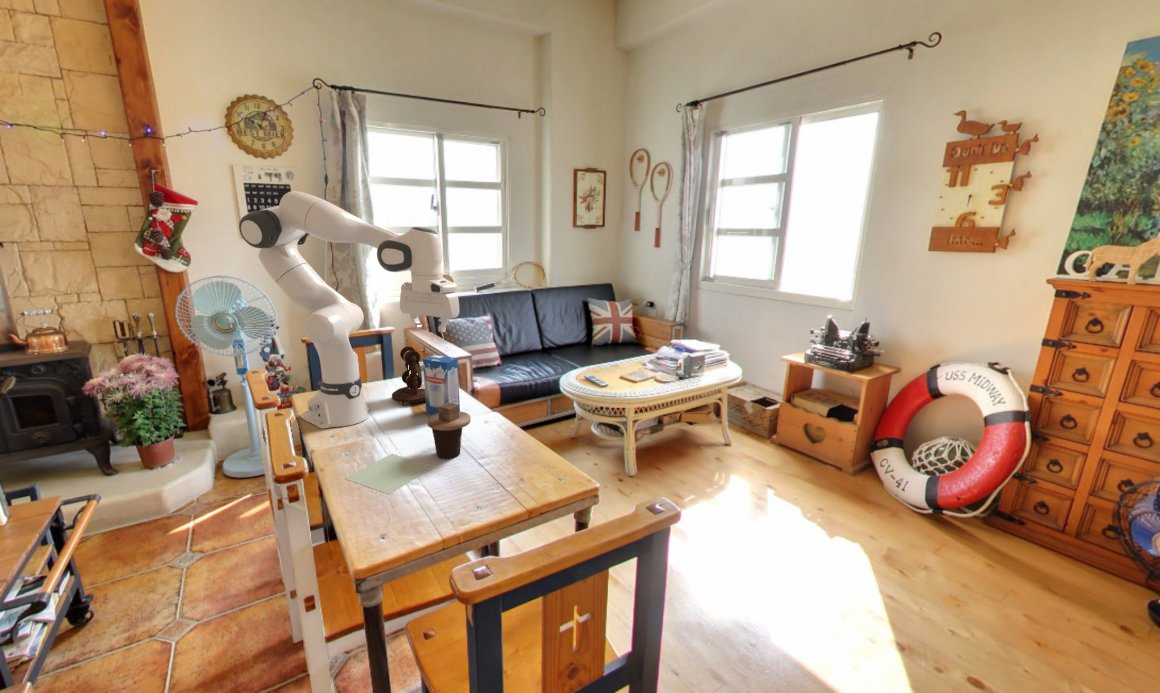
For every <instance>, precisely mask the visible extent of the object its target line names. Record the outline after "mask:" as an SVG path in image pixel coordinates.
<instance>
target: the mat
mask: <svg viewBox="0 0 1160 693" xmlns="http://www.w3.org/2000/svg"><path fill="white" fill-rule="evenodd" d="M434 467H435V465H432V464H428V463H425V462H421V461H418V460H415V459H411V458H408V457H406V456H405V457H404V456H401V455H398V454H395V453H389V454H388V455H386V456H384V457H383V458H381V459H379V460H377V461H375V462H373V463H371V464H370V465H368V466H365V467H363V468H362V469H359V470H358V471H356V472H354V473H352V474H351V475H348V476H346V477H345V478H344V480H346V481H350V482H352V483H355V484H358V485H361V486H364V487H366V488H370V489H373V490H375V491H378V492H381V493H384V494H387V495H392V494H393V493H394V492H396V491H397V490H399V489H401V488H403V487H404V486H406V485H407V484H409V483H410V482H412V481H414V480H416V479H418V478H419V477H420V476H422V475H423V474H425V473H427V472H428V471H430V470H431V469H433V468H434Z"/></svg>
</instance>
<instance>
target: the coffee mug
mask: <svg viewBox="0 0 1160 693" xmlns="http://www.w3.org/2000/svg"><path fill="white" fill-rule="evenodd" d="M431 431H432V436H433V441H434V445H435V446H434V447H435V452H436V457H437V458H438V459H441V460H451V459H455V458H458V457H459V456H460V455H461V446H462V435H463V428H460V429H455V430H447V431H443V430H435V429H432V428H431Z"/></svg>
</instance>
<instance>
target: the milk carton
mask: <svg viewBox="0 0 1160 693" xmlns="http://www.w3.org/2000/svg"><path fill="white" fill-rule="evenodd" d="M422 364H423V365H422V366H423V379H424V380H423V382H424V386H425V400H424V401H425V413H426V414H428V415H430V416H432V415H434V414H436V413H439V411H438V406H441V405H443V404H445V403H447V402H449V403H453V404H458V405H459V411H461V408H460V407H461V405H460V382H459V380H460V379H459V358H458V357H452V356H444V355H440V354H439V355H438V354H433V355H431V356H428V357H425V358H423V359H422Z"/></svg>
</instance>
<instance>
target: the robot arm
mask: <svg viewBox="0 0 1160 693" xmlns="http://www.w3.org/2000/svg"><path fill="white" fill-rule="evenodd" d="M238 230H239V233H240V235H241V237H242V239H243V240H244V242H246V244H248V245H249V246H251V247H253V248H255V249H259V252H258V259H259V261H260V263H261V264H262V267H264V270H265V271H266V272H267V274H268V275H269V277H271V279H272V280H273V282H275V284H277V285H278V287H279V288H280V289H281V290H282V291H283V293H284V294H285V295H286V296H287V297H288V298H289V300H290V301H291V302H292V303H294V304H295V305H297V306H299V307H301V308H304V309H306V310H307V311H309V312H311V314H309V315H308V316H307V317H306V318H305V320H304V322H303V325H302V330H303V333H304V335H305V337H306V339H308V341H310V342H311V343H313V346H314V348H315V349H316V353H317V354H318V358H319V361H320V369H321V376H322V378H321V379H322V380H317V385H320V388H319V391H318V392H316V394H314V395H313V396H312V397H311V398H309V400H308V402H307V410H306V411H305V412H302V413H301V414H300V418H301V419H302V420H304V421H306V422H308V423H309V422H310V423H309V424H311V423H312V424H311V425H313V424H314V425H313V426H315V425H316V426H315V427H316V428H319V429H328V428H329V429H330V428H336V427H340V426H341V427H347V426H352V425H356V424H359V423H361V422H363V421H365V420H366V419H368V417H369V412H370V407H369V406H367V401H366V396H365V393H364V389H362V388H363V384H362V383H363V380H362V377H361V376H360V368H359V366H360V365H359V359H358V358H359V356H358V354H357V353H356V351H354V350H353V348H352V346H351V343H350V339H349V336H350V335H351V334H354V333H356V332H357V331H358V329H359V328H360V327H362V324H363V323H364V319H365V318H364V317H365V315H364V312H363V310H362V308H361V307H360V306H359V305H357V304H356V303H353V302H352V301H349V300H347V299H346V298H345V297H344V296H342V295H341V294H340V293H339V292H337V291H336V290H334V288H332V287H331V286H330V285H329V284H327V283H326V282H325V281H324V279H323V278H322V277H321V276H320V275H319V274H318V273H317V272H316V270H314V268H313V267H312V265H310V264H309V262H307V261H306V259H305V258H304V257H303V256H302V255H301V253H300V252H299V249H298V246H301V245H304V244H305V243H306V240H307V238H308V237H309V236H313V237H314V238H316V239H318V240H322V241H325V242H326V241H327V242H330V243H336V244H337V243H338V244H343V243H345V244H346V243H347V244H349V243H350V244H351V243H352V244H362V245H366V246H369V247H372V248H374V249H377V250H376V259H377V262H378V263H379V266H380V267H382V269H384V270H385V271H387V272H390V273H401V272H408V271H410V277H411V282H407V281H406V282H405V281H404V282H403V284H402V285H401V286H400V290H401V291H400V294H399V295H400V296H399V309H400V311H401V312H402V313H403V314H409V316H410V319H411V321H412V323H413V329H418V330H419V329H422V328H423V323H422V322H421V321H420V319H419V316H427V317H434V318H439V319H440V322H441V324H440V325H438V326H437V331H438V333H446V332H447V325H448V323H449V321H450V319H455V318H458V317H459V315H460V303H459V302H460V301H459V300H460V299H459V296H458V293H457V291H458V285H457V283H454V282H452V281H451V280H448V279H447V278H445V277H444V276H443V275H444V274H443V270H442V266H441V265H442V260H443V256H442V253H443V252H442V243H441V240H440V235H439V234H438V231H437V232H436V230H434V229H431V228H428V227H427V228H426V227H421V226H414V227H411V228H410V229H409V230H407V231H406V232H405V233H403V234H401V235H398V234H395V233H394V232H392V231H388V230H386V229H383V228H381V227H380V226H377V225H375V224H372V223H370V222H367V221H366V220H364V219H362V218H360V217H358V216H357V215H356V216H355V215H354V214H352V213H350V212H348V211H346V210H345V209H343V208H341V207H339V206H337V205H335V204H333V203H332V202H329V201H327V200H325V199H323V198H321V197H318V196H315V195H313V194H311V193H306V192H304V191H298V190H291V191H288V192H286V193H284V194H283V196H282V197H281V199H280V201H279V204H278V205H276V206H269V207H267V208H263V209H260V210H254V211H250V212H249V213H246V214H245V215H243V216H242V217H241V219H240V221H239V222H238Z"/></svg>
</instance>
